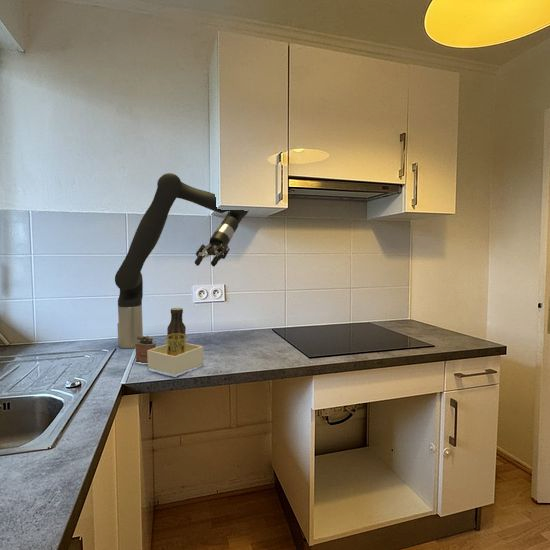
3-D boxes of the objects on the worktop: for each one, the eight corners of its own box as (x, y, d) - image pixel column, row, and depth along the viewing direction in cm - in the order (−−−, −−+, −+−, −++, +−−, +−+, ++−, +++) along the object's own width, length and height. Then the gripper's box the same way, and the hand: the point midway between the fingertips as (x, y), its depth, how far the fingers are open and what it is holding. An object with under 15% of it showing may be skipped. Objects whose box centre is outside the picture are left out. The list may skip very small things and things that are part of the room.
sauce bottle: (166, 369, 112) (164, 310, 110) (167, 362, 118) (165, 307, 116) (186, 367, 113) (185, 309, 112) (186, 361, 119) (185, 306, 118)
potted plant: (158, 362, 121) (157, 335, 120) (152, 366, 117) (152, 338, 117) (139, 360, 123) (138, 334, 122) (133, 363, 120) (132, 336, 119)
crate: (147, 370, 113) (147, 350, 112) (176, 359, 124) (176, 341, 124) (175, 378, 107) (174, 357, 106) (203, 365, 118) (202, 346, 117)
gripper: (205, 230, 144) (186, 258, 135) (231, 229, 137) (213, 258, 128) (213, 243, 149) (195, 270, 140) (239, 243, 142) (222, 271, 133)
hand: (204, 264), depth 134 cm, fingers open, 8 cm apart
